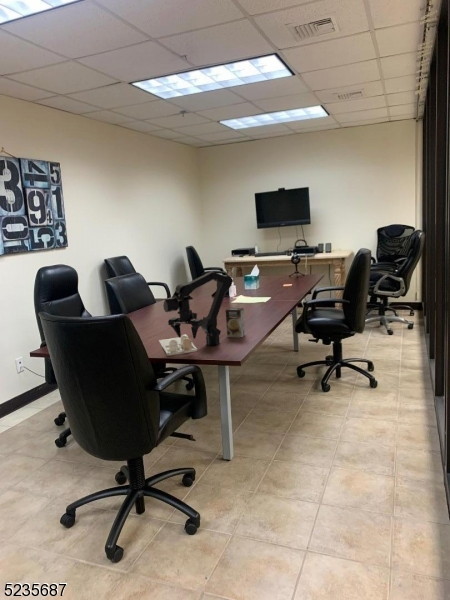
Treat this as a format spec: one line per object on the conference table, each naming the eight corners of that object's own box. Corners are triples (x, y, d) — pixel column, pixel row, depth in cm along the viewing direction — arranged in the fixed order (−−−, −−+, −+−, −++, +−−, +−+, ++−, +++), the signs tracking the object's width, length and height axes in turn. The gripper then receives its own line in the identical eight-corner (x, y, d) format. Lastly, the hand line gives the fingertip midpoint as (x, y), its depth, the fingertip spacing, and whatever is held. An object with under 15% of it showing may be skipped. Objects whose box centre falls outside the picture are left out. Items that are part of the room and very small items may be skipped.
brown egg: (193, 349, 236) (192, 337, 235) (188, 351, 232) (187, 339, 231) (187, 348, 238) (186, 336, 237) (182, 350, 235) (180, 338, 233)
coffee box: (226, 337, 256) (224, 309, 253) (230, 334, 262) (228, 307, 259) (242, 337, 253) (240, 309, 250) (245, 334, 259) (243, 307, 256)
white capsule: (180, 351, 234) (178, 339, 233) (174, 353, 230) (173, 341, 229) (173, 350, 236) (172, 338, 235) (168, 352, 233) (166, 340, 232)
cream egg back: (190, 345, 243) (189, 333, 242) (185, 347, 239) (184, 336, 238) (184, 344, 245) (183, 333, 244) (179, 347, 242) (178, 335, 240)
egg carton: (197, 352, 233) (197, 349, 232) (167, 356, 228) (167, 353, 228) (185, 337, 262) (185, 334, 262) (158, 341, 258) (158, 338, 258)
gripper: (207, 306, 233) (210, 335, 236) (178, 304, 242) (181, 332, 245) (196, 311, 224) (199, 341, 227) (166, 309, 233) (169, 338, 236)
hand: (187, 338), depth 234 cm, fingers open, 9 cm apart
